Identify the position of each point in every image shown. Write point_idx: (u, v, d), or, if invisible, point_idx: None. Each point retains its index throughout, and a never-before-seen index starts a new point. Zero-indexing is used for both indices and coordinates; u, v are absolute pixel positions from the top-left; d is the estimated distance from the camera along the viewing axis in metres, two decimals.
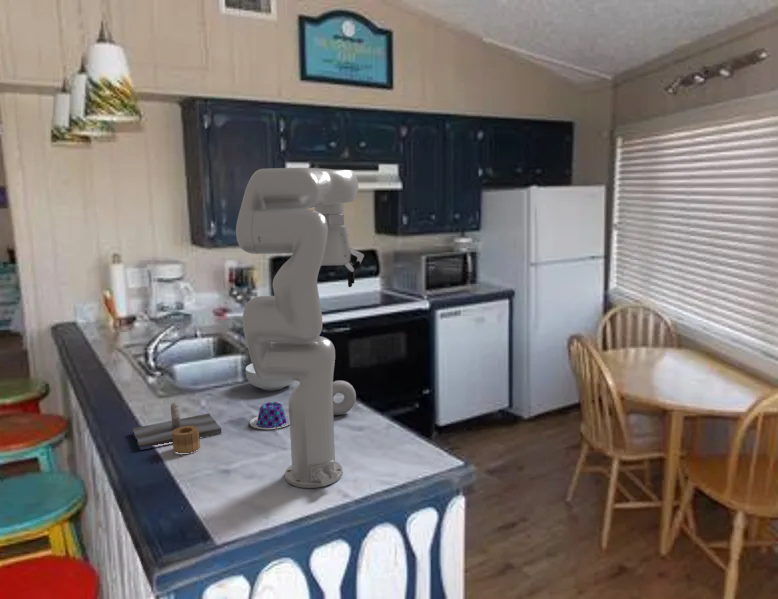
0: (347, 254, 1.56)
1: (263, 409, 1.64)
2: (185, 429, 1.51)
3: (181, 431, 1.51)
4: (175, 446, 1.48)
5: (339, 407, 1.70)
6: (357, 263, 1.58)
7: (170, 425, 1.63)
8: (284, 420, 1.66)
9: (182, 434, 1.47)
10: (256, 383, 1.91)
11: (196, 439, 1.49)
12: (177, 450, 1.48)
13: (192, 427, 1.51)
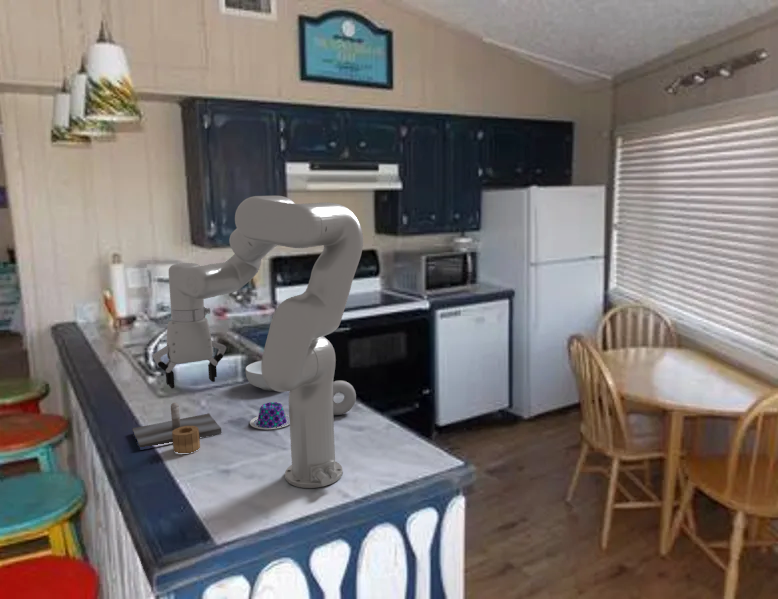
0: None
1: (263, 409, 1.64)
2: (185, 429, 1.51)
3: (181, 431, 1.51)
4: (175, 446, 1.48)
5: (339, 407, 1.70)
6: None
7: (170, 425, 1.63)
8: (284, 420, 1.66)
9: (182, 434, 1.47)
10: (256, 383, 1.91)
11: (196, 439, 1.49)
12: (177, 450, 1.48)
13: (192, 427, 1.51)
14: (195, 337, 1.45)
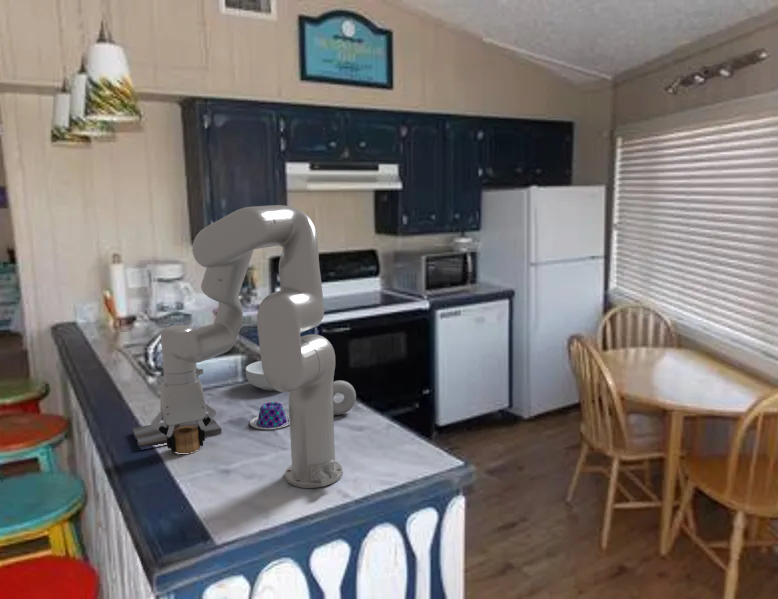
0: None
1: (263, 409, 1.64)
2: (185, 429, 1.51)
3: (181, 431, 1.51)
4: (175, 446, 1.48)
5: (339, 407, 1.70)
6: None
7: None
8: (284, 420, 1.66)
9: (182, 434, 1.47)
10: (256, 383, 1.91)
11: (196, 439, 1.49)
12: (177, 450, 1.48)
13: (192, 427, 1.51)
14: (188, 399, 1.46)
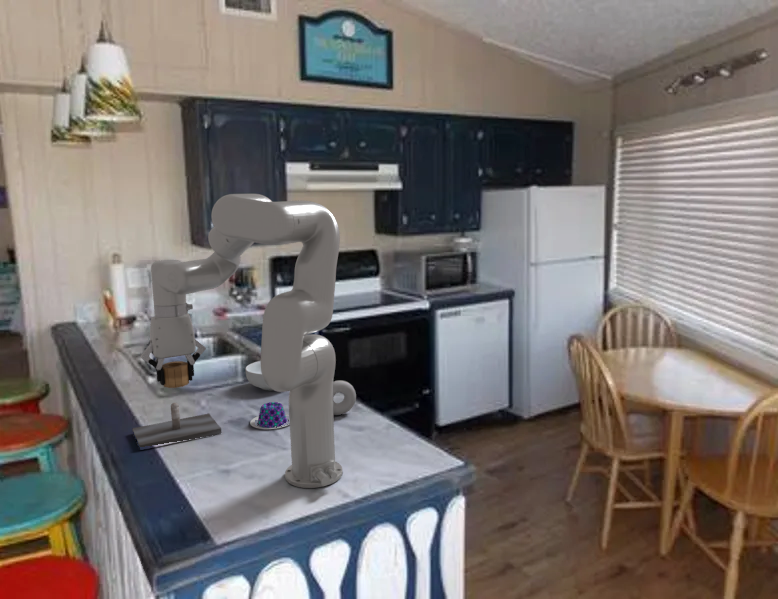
0: None
1: (263, 409, 1.64)
2: (174, 364, 1.53)
3: (170, 366, 1.53)
4: None
5: (339, 407, 1.70)
6: None
7: (170, 425, 1.63)
8: (284, 420, 1.66)
9: (171, 367, 1.49)
10: (256, 383, 1.91)
11: (185, 373, 1.51)
12: (166, 383, 1.50)
13: (182, 362, 1.53)
14: (178, 332, 1.49)
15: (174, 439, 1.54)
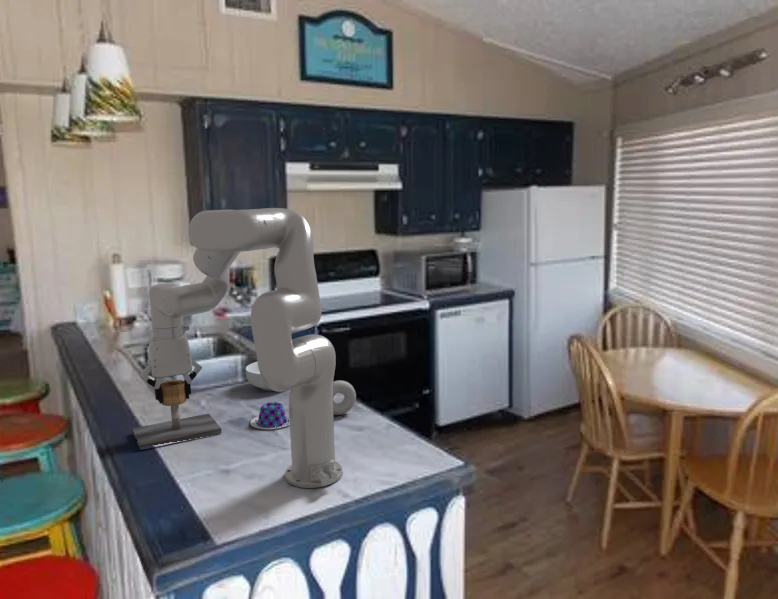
0: None
1: (264, 409, 1.64)
2: (172, 383, 1.60)
3: (168, 384, 1.59)
4: None
5: (339, 407, 1.70)
6: None
7: (170, 425, 1.63)
8: (285, 420, 1.66)
9: (169, 386, 1.56)
10: (256, 383, 1.91)
11: (182, 391, 1.58)
12: (164, 401, 1.56)
13: (179, 381, 1.60)
14: (175, 353, 1.55)
15: (174, 439, 1.54)
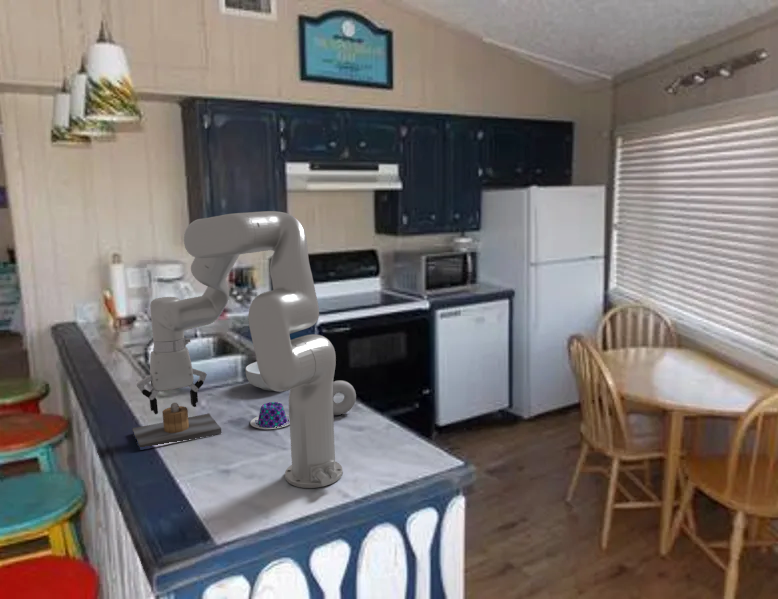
0: None
1: (264, 409, 1.64)
2: None
3: None
4: (165, 425, 1.58)
5: (339, 407, 1.70)
6: None
7: None
8: (285, 420, 1.66)
9: (172, 413, 1.57)
10: (256, 383, 1.91)
11: (185, 418, 1.59)
12: (167, 428, 1.58)
13: (181, 408, 1.61)
14: (176, 366, 1.56)
15: (174, 439, 1.54)
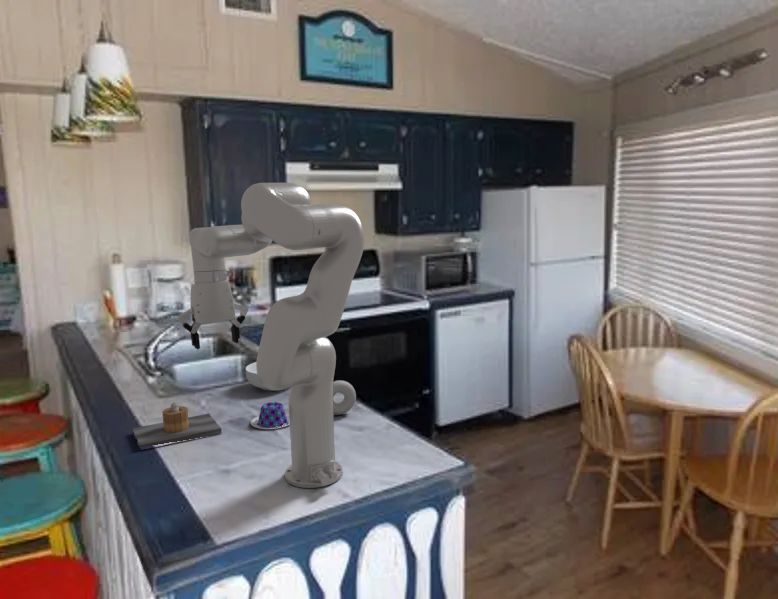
0: None
1: (264, 409, 1.64)
2: None
3: None
4: (165, 425, 1.58)
5: (339, 407, 1.70)
6: None
7: None
8: (285, 420, 1.66)
9: (172, 413, 1.57)
10: (256, 383, 1.91)
11: (185, 418, 1.59)
12: (167, 428, 1.58)
13: (181, 408, 1.61)
14: (218, 298, 1.50)
15: (174, 439, 1.54)
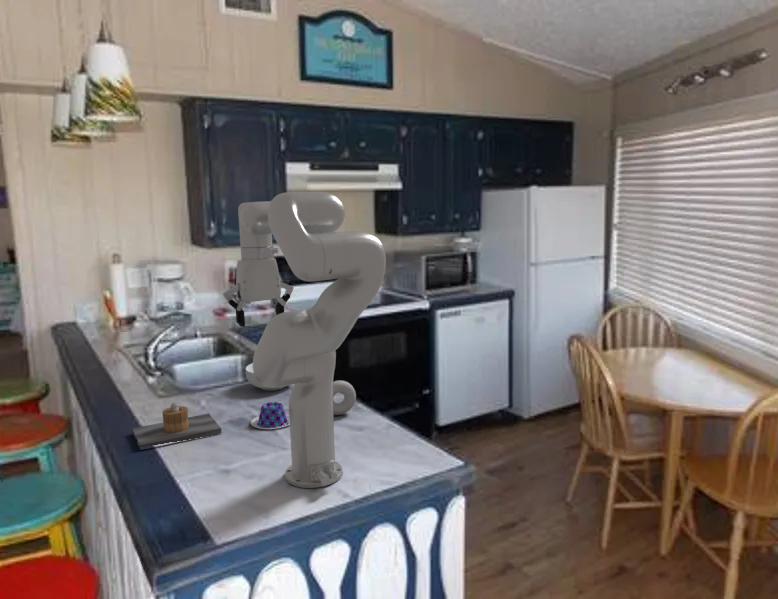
0: None
1: (264, 409, 1.64)
2: None
3: None
4: (165, 425, 1.58)
5: (339, 407, 1.70)
6: None
7: None
8: (285, 420, 1.66)
9: (172, 413, 1.57)
10: (256, 383, 1.91)
11: (185, 418, 1.59)
12: (167, 428, 1.58)
13: (181, 408, 1.61)
14: (265, 275, 1.47)
15: (174, 439, 1.54)
